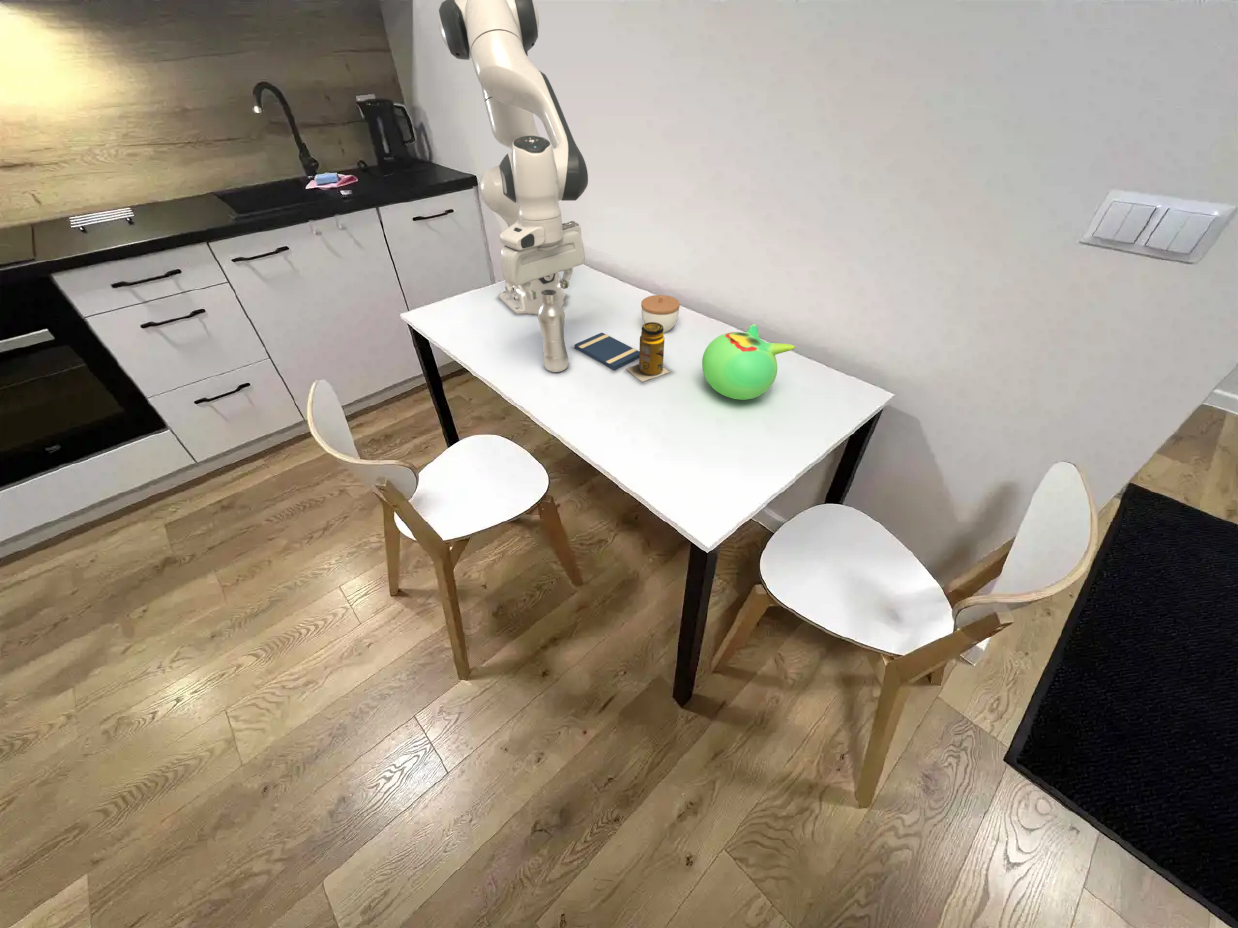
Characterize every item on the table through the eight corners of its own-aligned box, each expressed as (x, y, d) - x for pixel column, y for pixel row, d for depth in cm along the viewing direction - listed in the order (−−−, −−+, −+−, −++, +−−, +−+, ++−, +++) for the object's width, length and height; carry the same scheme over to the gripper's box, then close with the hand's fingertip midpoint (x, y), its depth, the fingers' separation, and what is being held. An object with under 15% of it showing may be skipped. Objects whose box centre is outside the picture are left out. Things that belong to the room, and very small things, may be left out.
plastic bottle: (558, 359, 130) (550, 284, 116) (574, 368, 126) (568, 292, 113) (538, 368, 126) (528, 292, 113) (555, 378, 123) (546, 301, 109)
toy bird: (687, 379, 122) (692, 324, 112) (744, 365, 127) (754, 311, 117) (726, 419, 109) (736, 361, 100) (789, 401, 114) (804, 344, 104)
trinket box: (675, 319, 146) (677, 288, 140) (680, 336, 138) (682, 304, 132) (639, 320, 146) (640, 289, 140) (641, 337, 138) (642, 305, 132)
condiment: (669, 372, 124) (672, 328, 116) (642, 382, 121) (643, 338, 113) (652, 360, 129) (654, 317, 121) (625, 369, 126) (625, 326, 118)
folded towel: (574, 348, 134) (574, 344, 133) (602, 336, 139) (601, 332, 138) (614, 370, 125) (614, 366, 124) (642, 356, 130) (642, 352, 129)
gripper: (570, 216, 111) (575, 277, 120) (492, 237, 101) (503, 302, 110) (588, 222, 107) (592, 284, 116) (509, 244, 97) (520, 311, 106)
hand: (548, 293), depth 113 cm, fingers open, 8 cm apart
